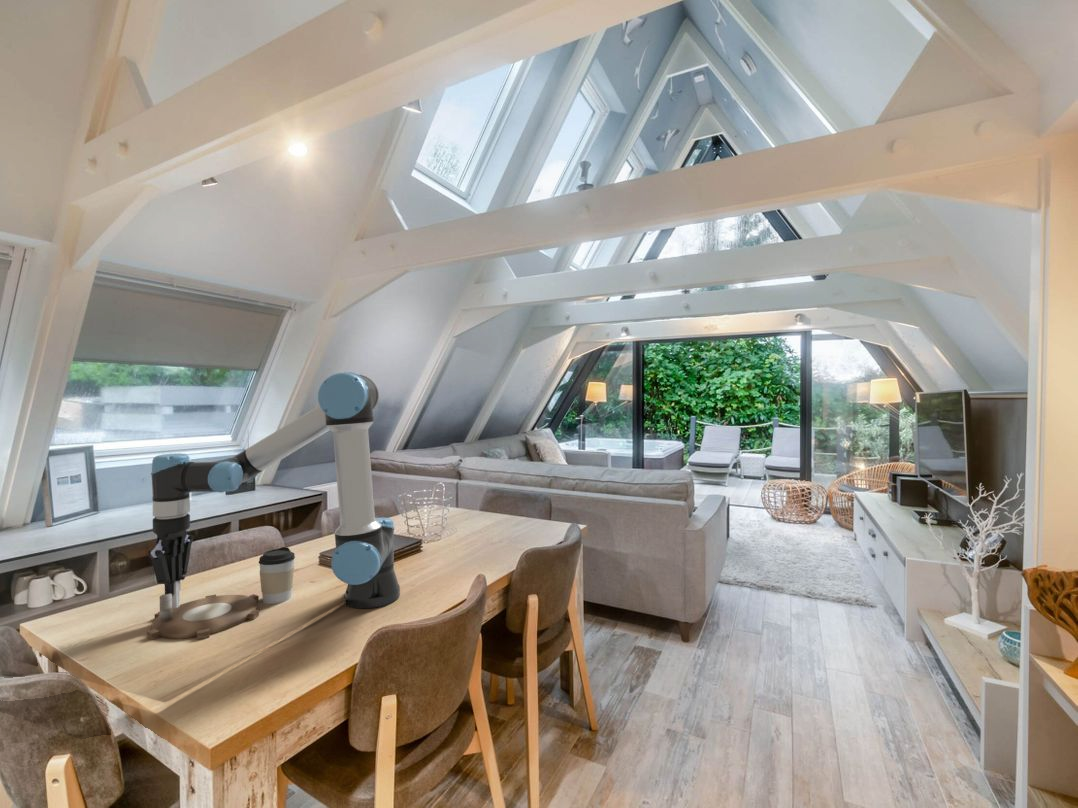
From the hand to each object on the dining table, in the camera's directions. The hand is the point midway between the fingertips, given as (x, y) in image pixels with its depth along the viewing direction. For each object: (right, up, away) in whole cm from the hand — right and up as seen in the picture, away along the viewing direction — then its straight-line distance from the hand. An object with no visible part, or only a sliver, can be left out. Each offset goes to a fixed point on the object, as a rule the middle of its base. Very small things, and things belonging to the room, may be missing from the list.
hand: (172, 606), depth 122 cm
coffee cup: (+19, -5, +13) cm, 24 cm away
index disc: (+8, -3, +1) cm, 9 cm away
